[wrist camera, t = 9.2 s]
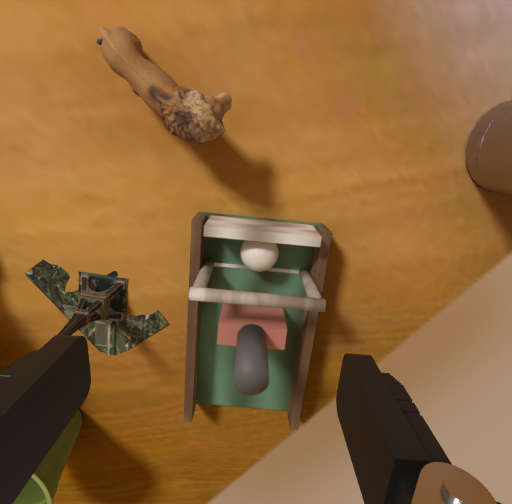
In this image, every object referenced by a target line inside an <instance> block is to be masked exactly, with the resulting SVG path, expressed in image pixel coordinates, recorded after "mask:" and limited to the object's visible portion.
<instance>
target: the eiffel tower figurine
mask: <svg viewBox="0 0 512 504" xmlns="http://www.w3.org/2000/svg"><path fill="white" fill-rule="evenodd" d="M25 275H26V276H27V277H28V278H29V279H30V280H31V281H32V282H33V283H34V284H35V285H36V286H37V287H38V288H39V289H40V290H41V291H42V292H43V293H44V294H45V295H46V296H47V297H48V298H49V299H50V300H51V301H52V302H53V303H54V304H55V306H56V307H57V308H58V309H59V310H60V311H61V312H62V313H63V314H64V315H65V316H66V317H67V318H68V319H69V322H68V323H67V324H66V325H65V327H64V328H63V329H62V330H61V331H60V332H59V333H58V335H70V336H71V335H72V334H73V333H74V332H76V331H77V330H79V331H80V332H81V333H82V334H83V335H84V336H85V337H86V338H87V339H88V340H89V341H90V342H91V343H92V344H93V345H94V346H95V347H96V348H97V349H98V350H99V351H100V352H105V353H106V354H108V355H112V354H113V355H117V354H119V353H122V352H125V351H128V350H129V349H131V348H132V347H134V346H135V345H137V344H138V343H140V342H142V341H143V340H145V339H146V338H148V337H149V336H151V335H152V334H154V333H155V332H157V331H158V330H160V329H161V328H163V327H165V326H166V325H168V323H167V322H166V320H165V319H164V317H163V316H162V315H161V313H160V312H159V311H156V312H155V313H153V314H152V315H139V316H134V315H130V316H129V315H126V312H127V295H128V279H125V278H118V277H116V276H118V274H117V272H116V271H113V272H111V273H110V274H108V275H107V276H105V275H99V274H92V273H86V272H79V290H77V291H74V292H65V288H66V284H67V282H68V280H69V278H70V277H69V274H68V273H67V272H66V271H65V270H64V269H62V268H61V267H60V266H59V265H51V264H49V263H48V262H46V261H45V260H42V261H41V262H39V263H38V264H37V265H36V266H34V267H33V268H32V269H30V270H29V271H28V272H27V273H25Z"/></svg>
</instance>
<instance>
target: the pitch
mask: <svg viewBox="0 0 512 504" xmlns="http://www.w3.org/2000/svg"><path fill="white" fill-rule="evenodd" d="M332 234H333V233H332V232H331V231H330V230H329V229H328V228H327V227H326V226H325V225H324V224H317V223H307V222H296V221H286V220H276V219H266V218H255V217H245V216H235V215H225V214H214V213H204V212H198V213H197V214H196V216H195V217H194V218H193V219H192V225H191V250H190V275H189V300H188V325H187V350H186V375H185V400H184V421H187V422H192V419H193V415H194V411H195V406H196V403H199V404H212V405H225V406H238V407H251V408H264V409H277V410H287V412H288V420H289V427H290V429H294V430H298V426H299V420H300V414H301V409H302V403H303V398H304V392H305V386H306V381H307V375H308V369H309V364H310V358H311V352H312V347H313V341H314V335H315V330H316V324H317V319H318V313H319V312H325V309H326V300H325V299H324V298H322V297H321V296H322V290H323V285H324V279H325V273H326V268H327V262H328V257H329V251H330V245H331V240H332ZM245 240H249V241H259V242H270V243H276V244H277V246H278V251H279V254H278V259H277V261H276V263H275V264H274V265H273V266H272V267H271V268H270V269H268V270H266V271H261V272H258V271H253V270H251V269H249V268H248V267H246V266H245V264H244V263H243V261H242V259H241V255H240V250H241V246H242V244H243V242H244V241H245ZM223 303H226V304H238V305H249V306H261V307H272V308H283V309H284V315H285V320H286V326H287V335H286V342H285V348H284V350H279V349H267V352H268V367H269V385H268V387H267V388H266V390H265V391H263V392H262V393H260V394H257V395H245V394H242V393H241V392H239V391H238V390H237V389H236V388H235V386H234V383H233V376H234V365H235V354H236V346H231V345H219V344H217V336H218V323H219V318H220V314H221V309H222V304H223Z"/></svg>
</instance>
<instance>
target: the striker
mask: <svg viewBox="0 0 512 504" xmlns="http://www.w3.org/2000/svg"><path fill="white" fill-rule="evenodd" d="M286 335H287V326H286V320H285V315H284V309H283V308H272V307H261V306H249V305H238V304H226V303H223V304H222V309H221V314H220V318H219V323H218V336H217V344H219V345H231V346H236V354H235V365H234V376H233V383H234V386H235V388H236V389H237V390H238V391H239V392H241V393H242V394H245V395H257V394H260V393H262V392H263V391H265V390H266V388H267V387H268V385H269V367H268V352H267V349H279V350H284V348H285V342H286Z"/></svg>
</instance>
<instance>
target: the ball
mask: <svg viewBox="0 0 512 504" xmlns="http://www.w3.org/2000/svg"><path fill="white" fill-rule="evenodd" d="M278 254H279V251H278V246H277V244H276V243H270V242H259V241H249V240H245V241H244V242H243V244H242V246H241V250H240V255H241V259H242V261H243V263H244V264H245V266H246V267H248V268H249V269H251V270H253V271H258V272H261V271H266V270H268V269H270V268H271V267H272V266H273V265H274V264H275V263H276V261H277V259H278Z"/></svg>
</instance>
